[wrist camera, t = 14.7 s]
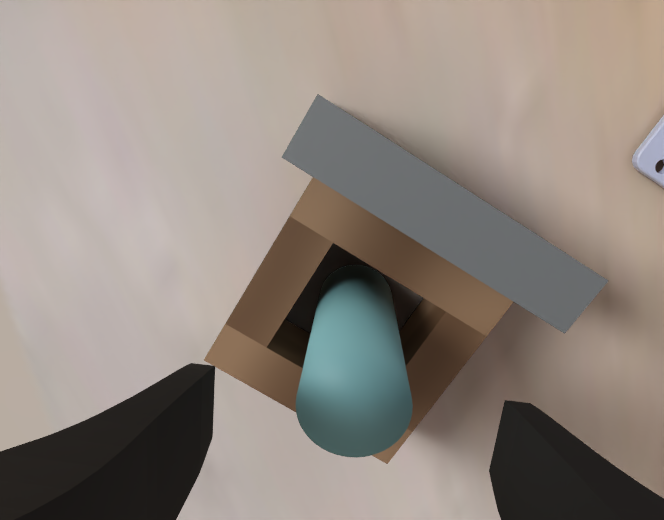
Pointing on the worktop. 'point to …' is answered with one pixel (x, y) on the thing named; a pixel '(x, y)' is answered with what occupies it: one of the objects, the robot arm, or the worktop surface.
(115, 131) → the worktop surface
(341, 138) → the board
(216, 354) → the brown square frame
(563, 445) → the robot arm
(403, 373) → the dowel
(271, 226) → the worktop surface
